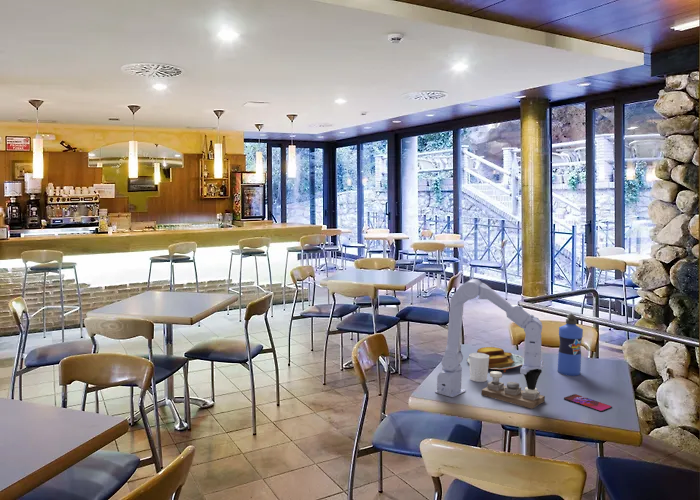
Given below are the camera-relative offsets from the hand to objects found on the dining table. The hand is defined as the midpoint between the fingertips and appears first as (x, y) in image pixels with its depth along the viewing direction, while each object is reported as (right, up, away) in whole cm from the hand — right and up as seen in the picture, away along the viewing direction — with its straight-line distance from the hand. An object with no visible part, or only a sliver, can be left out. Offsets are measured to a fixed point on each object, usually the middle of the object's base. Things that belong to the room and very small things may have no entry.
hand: (531, 389), depth 201 cm
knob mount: (-5, -5, +5) cm, 9 cm away
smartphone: (+20, -6, +1) cm, 21 cm away
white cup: (-13, -3, +26) cm, 29 cm away
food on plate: (0, -1, +47) cm, 47 cm away
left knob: (-10, +1, +10) cm, 14 cm away
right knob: (0, -3, 0) cm, 3 cm away
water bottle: (+28, -2, +36) cm, 46 cm away
